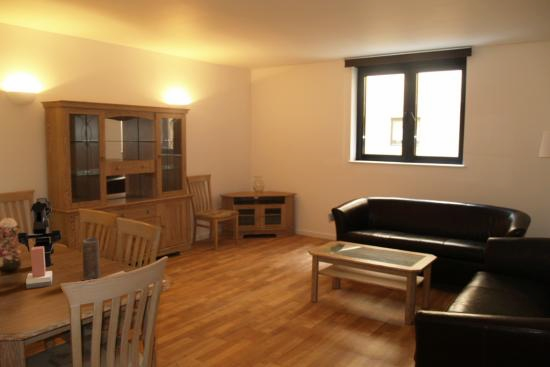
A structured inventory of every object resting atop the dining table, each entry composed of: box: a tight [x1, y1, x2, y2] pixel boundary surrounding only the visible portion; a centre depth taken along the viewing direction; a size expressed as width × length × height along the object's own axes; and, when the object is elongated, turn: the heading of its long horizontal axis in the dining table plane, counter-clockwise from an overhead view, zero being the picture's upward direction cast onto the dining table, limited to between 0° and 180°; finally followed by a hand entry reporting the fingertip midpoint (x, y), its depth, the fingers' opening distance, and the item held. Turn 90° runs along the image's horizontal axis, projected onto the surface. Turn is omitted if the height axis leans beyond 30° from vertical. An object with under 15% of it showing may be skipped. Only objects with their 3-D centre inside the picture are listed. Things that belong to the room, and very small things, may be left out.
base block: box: [25, 270, 53, 289], centre depth 209 cm, size 10×10×4 cm
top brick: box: [30, 246, 47, 277], centre depth 208 cm, size 5×5×13 cm
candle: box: [81, 237, 101, 281], centre depth 213 cm, size 8×7×20 cm
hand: (39, 251), depth 215 cm, fingers open, 9 cm apart
